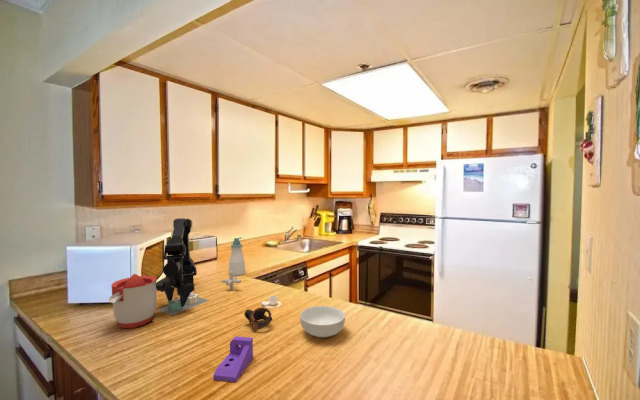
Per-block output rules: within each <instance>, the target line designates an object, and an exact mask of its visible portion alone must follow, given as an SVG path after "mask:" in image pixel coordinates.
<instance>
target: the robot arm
mask: <svg viewBox="0 0 640 400" xmlns="http://www.w3.org/2000/svg"><path fill="white" fill-rule="evenodd" d="M172 223H173V224H172V227H173V230H172V235H171V238H169V239H168V240H167V242H166V244H165V245H164V251H163V258H162V259H163V261H166V260H167V261H166V263H165V265H164V266H163V268H162V272H163V274H164V275H165V277H163V278H161V279H160V280H158V281H156V292H160V293H163V292H164V294H165V296H166V300H167V303H169V301H172V300H173V299H174V292H175V289H176V292H177V293H176V295H178V296H179V299H180V302H181V307H184V305H185V303H186V301H187V299H188V297H189V295H190V293H191V292H193V293H194V291H196V290H195V286H197V285H196V284H194V283H195V282H194V277H195V276H196V275H198V274H197V273H198V272H197V271H198V270H197V266H196V264H195V261H194V260H193V258H191V253H190V251H191V250H190V237H189V234H190V233H191V230H192V228H193V220H192V219H190V218H184V217H183V218H182V217H181V218H175V219H173V221H172Z"/></svg>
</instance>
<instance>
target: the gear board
mask: <svg viewBox="0 0 640 400" xmlns="http://www.w3.org/2000/svg"><path fill="white" fill-rule="evenodd" d="M193 294H194V291H193V292H191V293H190V295H189V297H193ZM178 299H179V297H177V296H176V297H173V300H174V303H176V302H178ZM209 301H210V300H209V299H206V298H202V297H199V302H197V303H196V304H191V305H189V304H186V305H184V308H183V309H182V308H181V309H179V310H173V311H171V310H168V305H166V306H163V307H161V308H157V311H159V312H160V313H164V314H167V315H169V316H174V315H176V314H179V313H181V312H185V311H186V310H189V309H191V308H193V307H196V306H199V305H201V304H204V303H206V302H209Z"/></svg>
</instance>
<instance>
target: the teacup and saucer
mask: <svg viewBox="0 0 640 400" xmlns="http://www.w3.org/2000/svg"><path fill="white" fill-rule="evenodd" d="M268 298H269V301H266V300H265V301H264V300H263V301H261V305H262V306H263V307H264V308H267V309H269V308H270V309H274V308H275V309H276V308H278V307H281V305H282V302H280V301H279V300H280V299H279V297H277V296H276V295H269V297H268ZM277 302H278V303H279V304H278V303H277ZM276 304H278V305H276ZM269 305H270V306H269ZM275 305H276V307H275Z"/></svg>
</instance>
